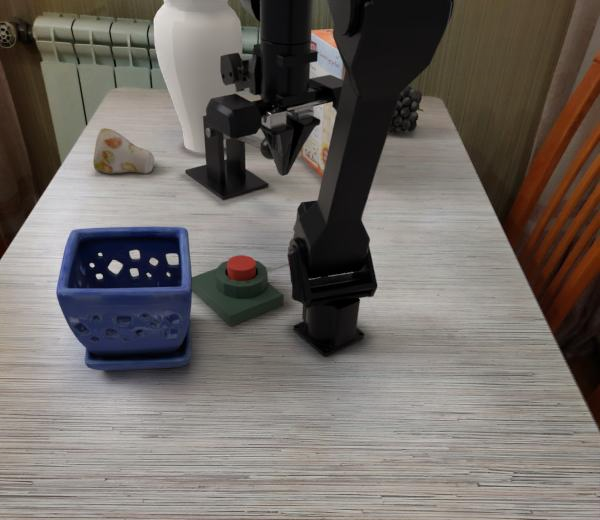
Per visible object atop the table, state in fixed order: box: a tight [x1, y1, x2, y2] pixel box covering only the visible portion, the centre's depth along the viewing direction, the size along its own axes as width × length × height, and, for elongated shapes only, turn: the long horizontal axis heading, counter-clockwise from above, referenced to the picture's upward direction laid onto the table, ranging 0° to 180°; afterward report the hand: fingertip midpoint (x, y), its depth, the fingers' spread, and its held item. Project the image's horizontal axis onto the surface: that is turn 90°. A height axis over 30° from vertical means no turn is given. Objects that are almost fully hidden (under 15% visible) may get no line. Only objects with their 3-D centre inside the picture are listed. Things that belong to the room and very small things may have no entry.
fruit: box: [388, 85, 424, 135], centre depth 120 cm, size 9×8×15 cm
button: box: [226, 254, 256, 281], centre depth 76 cm, size 4×4×2 cm
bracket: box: [184, 116, 269, 201], centre depth 99 cm, size 12×9×11 cm
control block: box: [192, 259, 284, 327], centre depth 78 cm, size 10×8×4 cm
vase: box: [153, 0, 244, 154], centre depth 103 cm, size 15×15×29 cm
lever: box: [223, 134, 274, 161], centre depth 92 cm, size 16×3×3 cm, turn 37°
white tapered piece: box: [92, 127, 155, 175], centre depth 102 cm, size 8×10×10 cm
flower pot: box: [55, 226, 193, 371], centre depth 67 cm, size 13×13×12 cm
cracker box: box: [301, 28, 345, 179], centre depth 100 cm, size 14×6×21 cm, turn 22°
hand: (282, 174), depth 78 cm, fingers closed
